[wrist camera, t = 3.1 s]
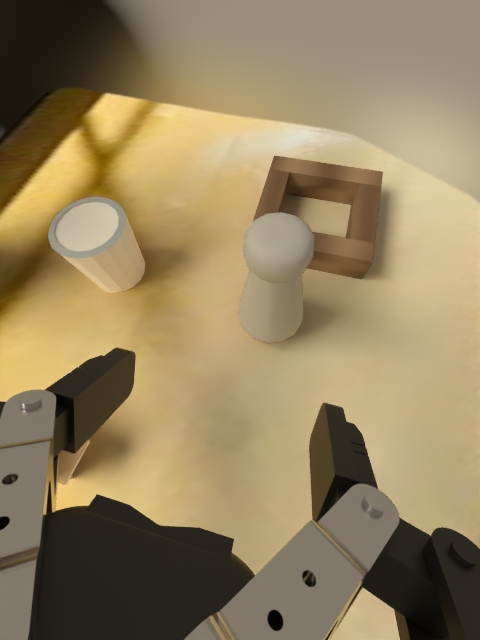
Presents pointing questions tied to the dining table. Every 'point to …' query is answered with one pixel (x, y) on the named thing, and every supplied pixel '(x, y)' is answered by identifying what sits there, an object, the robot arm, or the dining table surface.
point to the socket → (333, 186)
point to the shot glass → (98, 243)
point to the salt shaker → (275, 276)
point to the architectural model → (69, 463)
